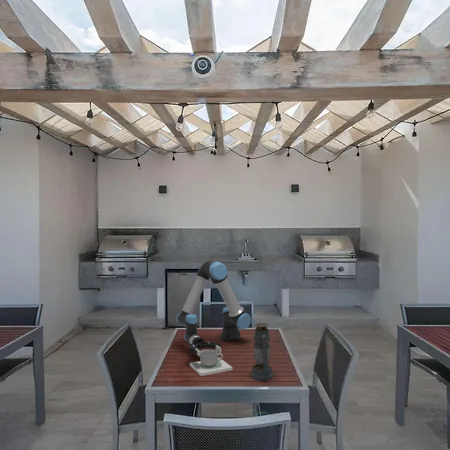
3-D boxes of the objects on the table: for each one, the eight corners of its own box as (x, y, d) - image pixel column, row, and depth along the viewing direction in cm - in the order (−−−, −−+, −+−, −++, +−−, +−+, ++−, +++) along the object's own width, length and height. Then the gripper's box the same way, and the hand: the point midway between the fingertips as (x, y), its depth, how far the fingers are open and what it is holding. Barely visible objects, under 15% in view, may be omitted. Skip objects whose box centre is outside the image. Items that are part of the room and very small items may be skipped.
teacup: (196, 365, 225) (196, 352, 226) (205, 360, 235) (205, 347, 235) (217, 370, 219) (217, 356, 219) (225, 364, 229) (226, 351, 229)
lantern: (247, 369, 225) (246, 319, 225) (270, 368, 227) (270, 317, 227) (255, 383, 206) (254, 327, 206) (280, 381, 208) (280, 326, 208)
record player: (219, 360, 241) (219, 353, 241) (232, 370, 225) (232, 363, 225) (189, 365, 233) (189, 358, 233) (200, 376, 216) (200, 369, 216)
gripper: (214, 345, 253) (229, 355, 234) (178, 351, 242) (191, 361, 223) (214, 334, 253) (229, 342, 234) (178, 339, 242) (190, 349, 223)
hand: (210, 352), depth 229 cm, fingers open, 13 cm apart
